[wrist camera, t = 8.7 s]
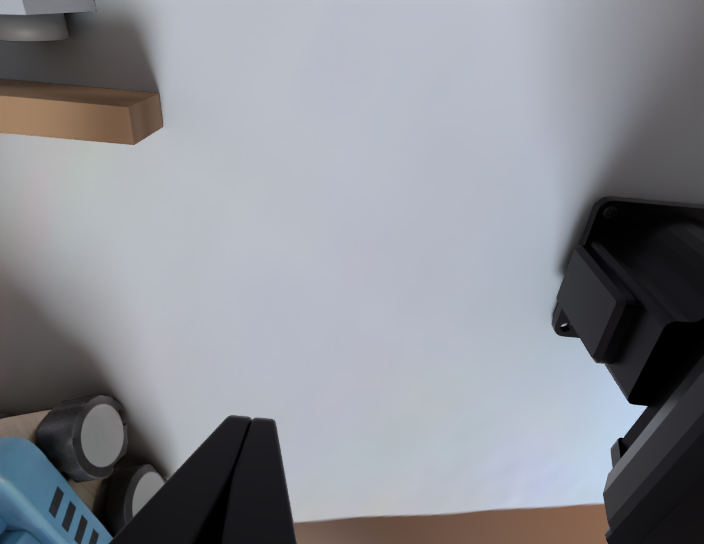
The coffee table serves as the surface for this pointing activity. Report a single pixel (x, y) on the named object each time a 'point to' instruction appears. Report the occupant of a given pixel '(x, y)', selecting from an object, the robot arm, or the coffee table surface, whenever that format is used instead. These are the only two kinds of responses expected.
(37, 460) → the toy excavator
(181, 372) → the coffee table surface
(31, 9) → the white block with knob
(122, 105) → the bay
